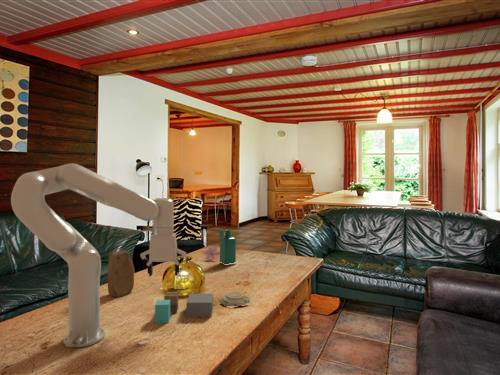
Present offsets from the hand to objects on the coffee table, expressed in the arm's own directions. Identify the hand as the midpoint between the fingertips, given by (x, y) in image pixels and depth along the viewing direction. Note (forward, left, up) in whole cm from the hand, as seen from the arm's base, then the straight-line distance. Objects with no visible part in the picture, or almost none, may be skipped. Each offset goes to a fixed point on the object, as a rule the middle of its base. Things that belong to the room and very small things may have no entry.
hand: (163, 275), depth 127 cm
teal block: (0, 0, -18) cm, 18 cm away
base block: (+7, -14, -18) cm, 23 cm away
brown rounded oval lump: (+30, +24, -18) cm, 42 cm away
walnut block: (+9, -2, -18) cm, 20 cm away
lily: (+91, -17, -18) cm, 94 cm away
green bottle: (+80, -27, -18) cm, 86 cm away
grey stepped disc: (+17, -29, -18) cm, 38 cm away
